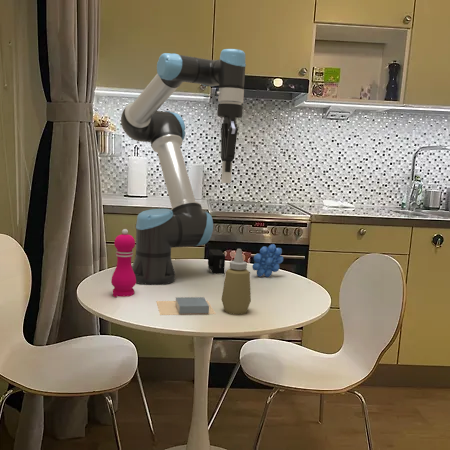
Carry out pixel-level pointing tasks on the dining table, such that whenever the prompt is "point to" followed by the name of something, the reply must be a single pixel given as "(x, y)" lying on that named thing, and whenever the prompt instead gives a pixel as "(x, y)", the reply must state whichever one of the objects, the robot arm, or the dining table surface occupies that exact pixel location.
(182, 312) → the tile
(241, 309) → the squeeze bottle
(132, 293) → the pepper mill
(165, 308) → the mat
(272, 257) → the grapes
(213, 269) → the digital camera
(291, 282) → the dining table surface
